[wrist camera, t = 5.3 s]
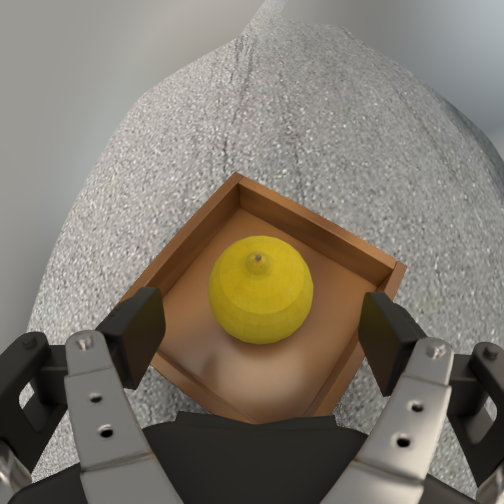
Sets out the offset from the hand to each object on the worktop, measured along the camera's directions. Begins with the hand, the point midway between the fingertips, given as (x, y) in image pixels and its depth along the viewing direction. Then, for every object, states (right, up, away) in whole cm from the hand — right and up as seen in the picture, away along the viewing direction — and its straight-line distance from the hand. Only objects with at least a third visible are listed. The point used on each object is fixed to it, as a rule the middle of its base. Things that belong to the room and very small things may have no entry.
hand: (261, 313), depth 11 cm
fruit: (0, -2, +8) cm, 8 cm away
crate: (0, -2, +8) cm, 9 cm away
